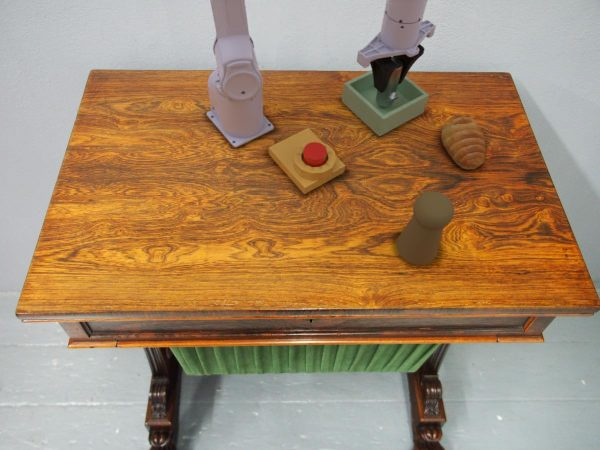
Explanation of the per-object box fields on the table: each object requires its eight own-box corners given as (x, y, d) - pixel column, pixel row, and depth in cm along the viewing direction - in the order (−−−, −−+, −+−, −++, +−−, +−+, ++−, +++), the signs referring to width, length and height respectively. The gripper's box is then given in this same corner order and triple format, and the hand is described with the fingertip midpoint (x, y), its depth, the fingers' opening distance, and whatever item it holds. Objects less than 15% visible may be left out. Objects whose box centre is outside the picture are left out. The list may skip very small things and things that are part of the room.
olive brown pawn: (436, 268, 70) (460, 226, 61) (394, 260, 71) (411, 217, 62) (438, 233, 74) (461, 188, 65) (398, 226, 74) (415, 180, 65)
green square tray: (341, 101, 89) (343, 83, 85) (385, 79, 92) (389, 61, 89) (379, 136, 84) (383, 119, 81) (423, 112, 88) (429, 94, 84)
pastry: (491, 170, 81) (499, 154, 78) (451, 173, 80) (458, 158, 77) (473, 129, 86) (480, 112, 83) (435, 131, 85) (441, 115, 82)
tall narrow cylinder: (369, 96, 87) (376, 59, 81) (383, 89, 88) (391, 52, 82) (385, 111, 85) (394, 74, 79) (399, 104, 87) (409, 66, 80)
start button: (298, 155, 77) (298, 148, 76) (316, 146, 78) (317, 138, 77) (312, 170, 76) (312, 163, 74) (330, 160, 77) (331, 152, 75)
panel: (268, 154, 81) (268, 139, 78) (307, 134, 84) (308, 119, 81) (305, 195, 77) (306, 181, 74) (345, 173, 80) (348, 158, 77)
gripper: (384, 43, 69) (370, 115, 80) (458, 9, 74) (434, 82, 85) (352, 17, 72) (342, 90, 83) (425, -13, 77) (406, 59, 88)
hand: (387, 84), depth 84 cm, fingers closed on tall narrow cylinder, 3 cm apart
